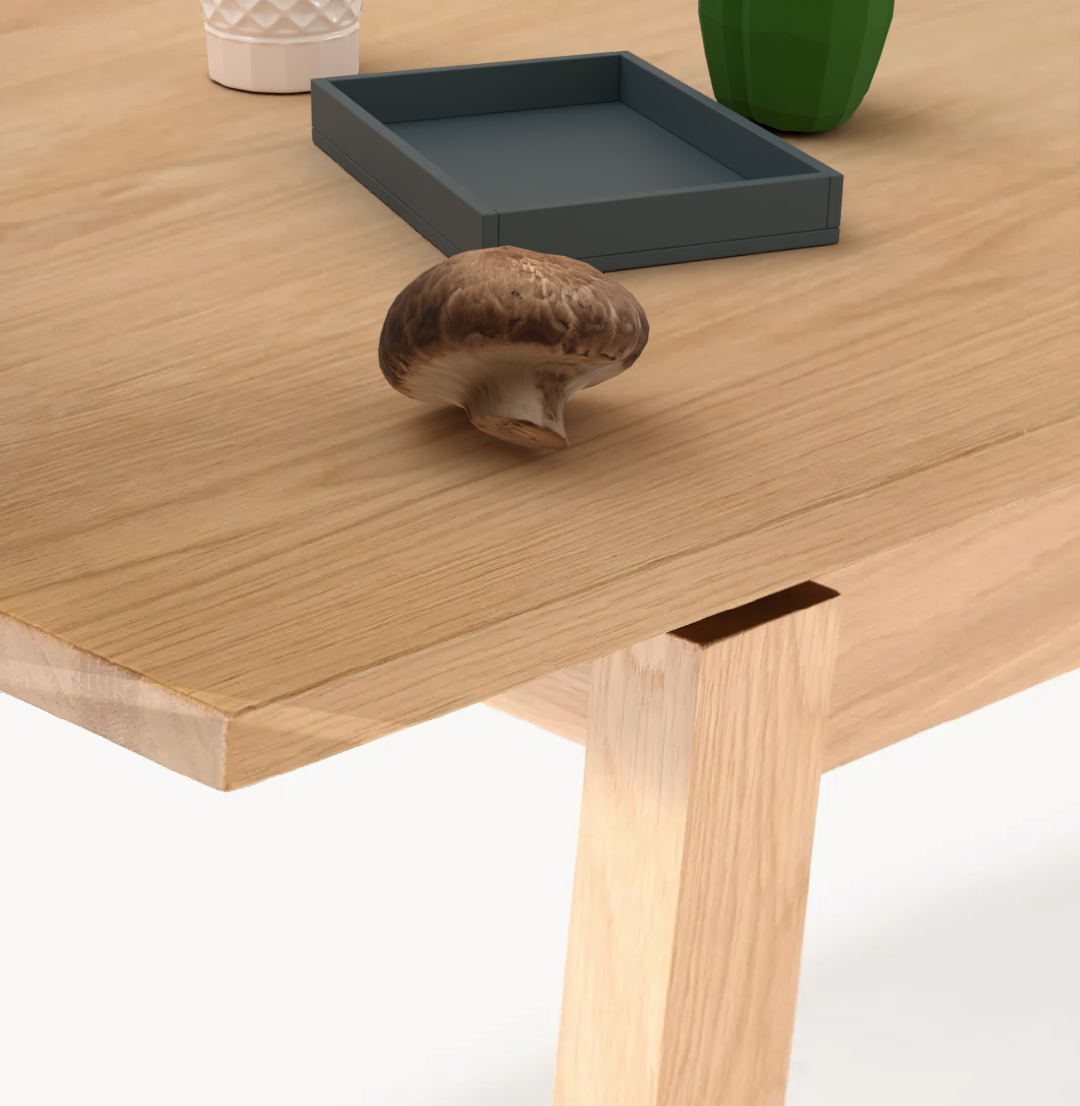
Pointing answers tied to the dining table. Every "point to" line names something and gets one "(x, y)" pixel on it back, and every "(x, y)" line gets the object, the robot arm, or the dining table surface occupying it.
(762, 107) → the bell pepper
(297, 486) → the dining table surface
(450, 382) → the mushroom
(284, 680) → the dining table surface
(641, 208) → the tray
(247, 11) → the white cup
